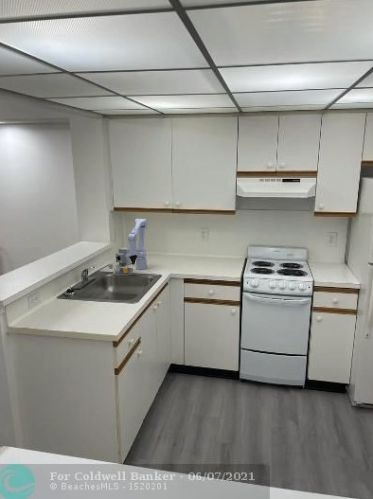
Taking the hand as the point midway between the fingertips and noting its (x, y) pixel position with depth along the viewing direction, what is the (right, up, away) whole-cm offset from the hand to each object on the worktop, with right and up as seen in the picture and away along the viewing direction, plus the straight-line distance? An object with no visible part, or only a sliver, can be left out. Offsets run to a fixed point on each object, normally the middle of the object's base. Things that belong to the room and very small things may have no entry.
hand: (133, 264), depth 296 cm
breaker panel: (-10, -7, +8) cm, 14 cm away
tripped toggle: (-6, -7, +1) cm, 10 cm away
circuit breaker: (-14, -2, +30) cm, 33 cm away
